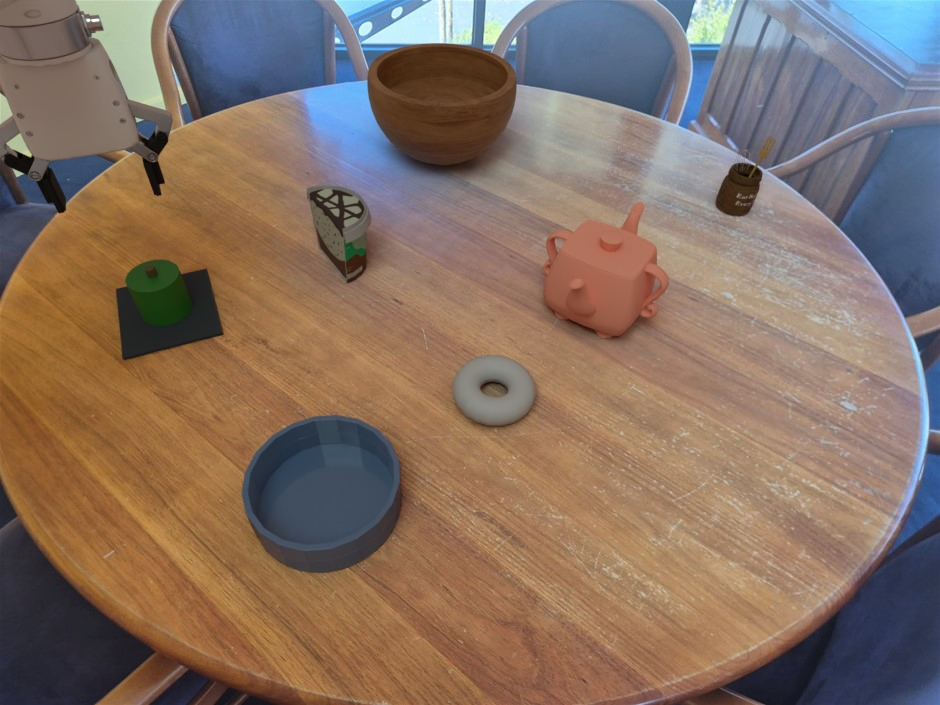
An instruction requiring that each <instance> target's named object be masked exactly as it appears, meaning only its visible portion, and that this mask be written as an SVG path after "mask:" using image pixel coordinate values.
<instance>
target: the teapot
mask: <svg viewBox="0 0 940 705" xmlns="http://www.w3.org/2000/svg"><path fill="white" fill-rule="evenodd" d="M644 209H645V203H644V202H642V201H639V202H637V203H635V204H634V205H633V206H632V208H631V209H630V211H629V214H628V215H627V217H626V219H625V221H624V223H623V224H622V226H621V227H616V226H614V225H611V224H608V223H605V222H602V221H596V220H590V219H589V220H585V221H583V222H582V223H581V224H580V225H579V226H578V227H577V228H576V229H575V230H574V231H573V232H572V231H570V230H567V229H556V230H554V231H552V232H550V233H549V235H548V236H547V238H546V241H545V243H546V244H545V246H546V248H545V249H546V252H547V256H548V258H549V259H548V260H546V261H545V262H544V264H543V272H544V274H545V275H546V279H545V282H544V287H543V290H542V292H543V298H544V301H545V304H546V305H547V307H548V308H549V309H551V310H552V311H554V315H555V316H556V317H557V318H558V319H560V320H564V321H565V320H571V321H572V322H574V323H576V324H579V325H581V326H583V327H586V328H589V329H591V330H594V332H595V334H596V335H597V336H598V337H600V338H603V339H609V338H612V337H613V336H615V337H616V336H618V337H619V336H622V335H623V334H625V333H626V332H627V331H628V329H629V328H630V327H631V326H632V325H633V324H634V322H635V321H636V320H637V319H638V317H639V316H641V317H643V318H645V319H651V318H653V317H655V316H656V315H657V314H658V311H659V307H658V305H657V304H656V303H655V301H657V300H658V299H659V298H660V297H661V296H662V295H664V294H665V292H666V291H667V290H668V287H669V283H670V280H669V275H668V274H667V272H666V271H665V270H664V269H663V268H662V267H661V266H659V265H658V251H657V250H658V249H657V246H656V245H655V244H654V243H653V242H651V241H650V240H648V239H646V238H644V237H641V236H639V235H638V229H639V225H640V224H639V223H640V220H641V217H642V215H643V212H644ZM556 239H561V240H563V241H565V242H564V243H563V244H562V245H561V247H560V249H559V250H557V246H556ZM656 279H657V280H658V283H659V287H658V288H657V289H656V290H655V291H654V288H655V283H656ZM653 291H654V292H653Z"/></svg>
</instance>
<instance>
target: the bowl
mask: <svg viewBox="0 0 940 705" xmlns="http://www.w3.org/2000/svg"><path fill="white" fill-rule="evenodd" d="M366 85H367V86H366V87H367V95H368V101H369V106H370V109H371V112H372V115H373V117H374V119H375V121H376V123H377V125H378V127H379V128H380V130H381V132H382V133H383V134H384V136H385V137H386V138H387V139H388V141H389V142H390V143H391V144H392V145H393V146H394V147H395V148H397V149H398V150H399V151H401V153H404V154H405V155H406V156H408V157H410V158H412V159H414V160H416V161H419V162H421V163H425V164H429V165H436V166H450V165H457V164H461V163H465V162H468V161H470V160H472V159H475V158H476V157H478V156H480V155H481V154H483V153H485V152H486V151H487V150H488V149H489V148H491V147H492V146H493V145H494V144H495V143H496V142H497V140H498V139H500V137H501V135H502V134H503V133H504V131H505V129H506V127H507V126H508V124H509V122H510V120H511V117H512V115H513V113H514V112H513V111H514V108H515V104H516V98H517V92H518V91H517V90H518V81H517V73H516V70H515V69H514V66H512V64H511V63H510V62H509V61H507V60H506V59H505V58H503V57H502V56H499V55H497V54H496V53H493V52H491V51H488V50H486V49H482V48H479V47H475V46H470V45H464V44H457V43H456V44H455V43H445V42H438V43H437V42H433V43H432V42H430V43H418V44H411V45H406V46H402V47H398V48H395V49H391V50H389V51H386V52H384V53H383V54H381V55H379V56H377V57H376V58H375V59H374V60H373V61H372V62H371V63H370V65H369V67H368V69H367V84H366Z"/></svg>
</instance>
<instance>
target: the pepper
mask: <svg viewBox="0 0 940 705" xmlns="http://www.w3.org/2000/svg"><path fill="white" fill-rule="evenodd" d="M181 274H182V273H181V270H180V267H179V266H178V265H177V263H175V262H173V261H171V260H168V259H161V258H160V259H151V260H147V261H144V262H141V263H139V264H137V265H136V266H134V267H132V268H131V269H130V270H129V271H128V273H127V274H126V276H125V284H126V286H127V287H128V289H129V291H130V293H131V295H132V297H133V299H134V301H135V304H136V306H137V308H138V310H139V312H140V314H141V316H142V318H143V320H144V321H145V322H146V323H148V324H150V325H153V326H168V325H172V324H175V323H178V322H180V321H182V320H183V319H185V318H186V317H187V316H188V315H189V314H190V312H191V310H192V307H193V303H192V300H191V298H190V295H189V293H188V290H187V288H186V285H185V283H184V280H183V277H182V275H181Z"/></svg>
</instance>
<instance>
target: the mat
mask: <svg viewBox="0 0 940 705" xmlns="http://www.w3.org/2000/svg"><path fill="white" fill-rule="evenodd" d="M181 275H182V277H183V280H184V283H185V285H186V288H187V290H188V293H189V295H190V298H191V300H192V303H193V307H192V310H191V312H190V314H189V315H188V316H187V317H186V318H185V319H183V320H182V321H180V322H178V323H175V324H172V325H168V326H153V325H150V324H148V323H146V322H145V321H144V320H143V318H142V316H141V314H140V312H139V310H138V308H137V306H136V304H135V301H134V299H133V297H132V295H131V293H130V291H129V289H128V287H127V285H126V286H122V287H118V288H115V296H116V305H117V315H118V326H119V335H120V336H119V337H120V345H121V355H122V360H123V361H126V360H130V359H133V358H139V357H142V356H146V355H149V354H154V353H157V352H161V351H165V350H169V349H173V348H177V347H181V346H185V345H187V344H192V343H196V342H201V341H204V340H208V339H211V338H215V337H219V336H222V335H223V336H224V331H223V328H222V324H221V320H220V314H219V312H218V308H217V305H216V300H215V296H214V292H213V289H212V283H211V281H210V276H209V272H208V269H207V268H202V269H198V270H193V271H189V272H183V273H181Z"/></svg>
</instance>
